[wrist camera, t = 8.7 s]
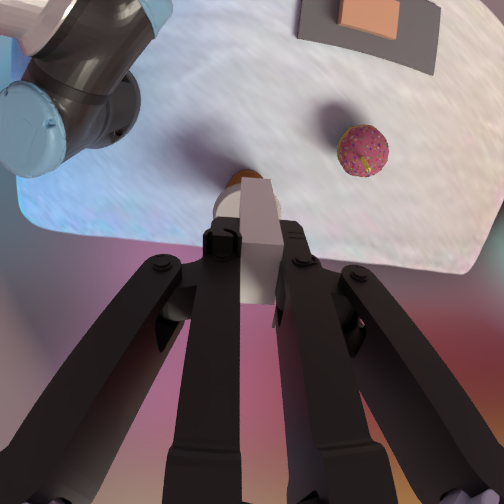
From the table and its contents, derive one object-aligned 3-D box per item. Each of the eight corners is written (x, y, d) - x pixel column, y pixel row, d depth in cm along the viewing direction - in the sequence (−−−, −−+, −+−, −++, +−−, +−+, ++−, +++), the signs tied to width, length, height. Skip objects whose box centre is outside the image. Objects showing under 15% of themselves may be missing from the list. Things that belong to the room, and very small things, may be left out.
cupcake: (343, 176, 51) (367, 205, 41) (321, 134, 47) (341, 153, 37) (384, 153, 49) (416, 177, 39) (364, 111, 45) (395, 124, 35)
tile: (389, 40, 37) (336, 25, 36) (393, 4, 33) (340, -12, 32) (395, 39, 35) (341, 23, 34) (399, 2, 31) (345, -16, 30)
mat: (297, 38, 38) (298, 37, 38) (305, -35, 31) (307, -37, 30) (430, 75, 40) (433, 75, 39) (437, 8, 33) (440, 7, 32)
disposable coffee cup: (275, 210, 55) (282, 247, 45) (221, 214, 55) (216, 250, 45) (274, 158, 49) (282, 184, 39) (216, 162, 50) (208, 188, 40)
